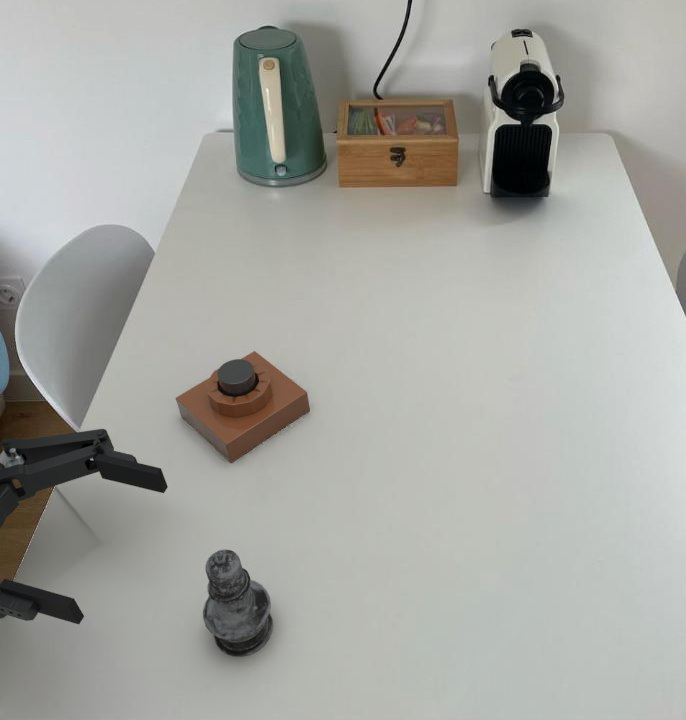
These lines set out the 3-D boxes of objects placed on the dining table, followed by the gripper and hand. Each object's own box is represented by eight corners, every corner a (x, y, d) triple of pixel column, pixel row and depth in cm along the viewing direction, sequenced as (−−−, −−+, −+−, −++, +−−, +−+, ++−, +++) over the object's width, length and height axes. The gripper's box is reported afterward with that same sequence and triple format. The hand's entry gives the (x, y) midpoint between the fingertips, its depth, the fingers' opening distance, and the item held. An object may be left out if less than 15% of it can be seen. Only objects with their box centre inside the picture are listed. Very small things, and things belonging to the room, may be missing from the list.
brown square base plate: (231, 463, 88) (222, 431, 84) (181, 416, 93) (171, 385, 90) (310, 410, 93) (305, 379, 90) (258, 368, 98) (251, 337, 95)
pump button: (234, 402, 88) (230, 389, 86) (213, 384, 90) (209, 371, 89) (264, 384, 90) (261, 370, 88) (242, 367, 92) (239, 353, 91)
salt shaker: (197, 632, 73) (166, 556, 65) (246, 588, 76) (223, 510, 68) (240, 673, 70) (213, 598, 62) (289, 624, 73) (270, 548, 65)
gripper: (18, 419, 85) (200, 461, 80) (-167, 631, 68) (49, 700, 63) (-9, 367, 80) (183, 408, 75) (-217, 582, 63) (14, 653, 58)
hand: (122, 541), depth 69 cm, fingers open, 13 cm apart
